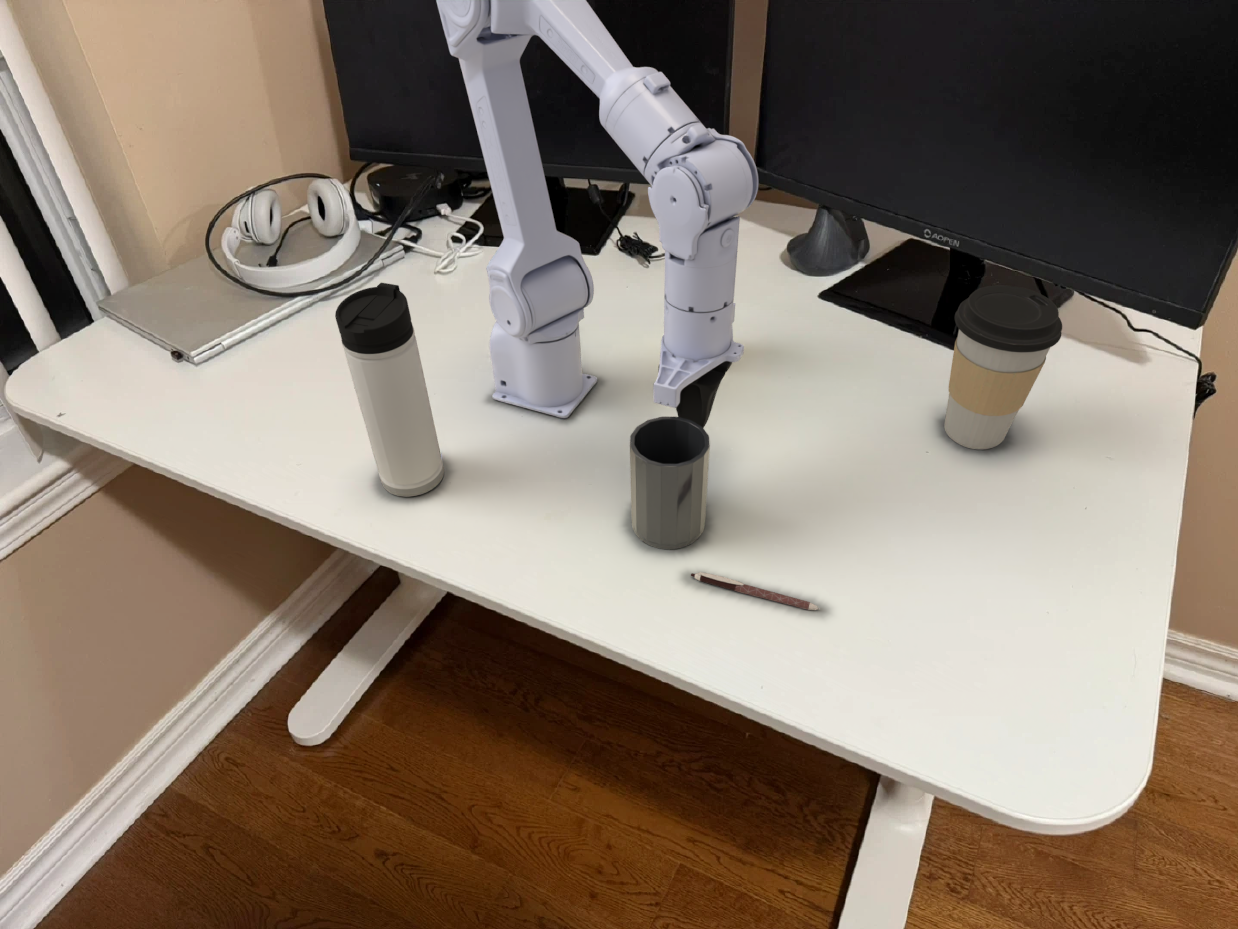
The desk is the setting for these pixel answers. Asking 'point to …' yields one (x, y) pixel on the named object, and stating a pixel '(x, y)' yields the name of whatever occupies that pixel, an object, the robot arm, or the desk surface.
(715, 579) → the pen
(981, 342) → the coffee cup
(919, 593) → the desk surface
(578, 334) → the robot arm
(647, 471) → the pen cup
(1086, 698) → the desk surface
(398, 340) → the travel mug
